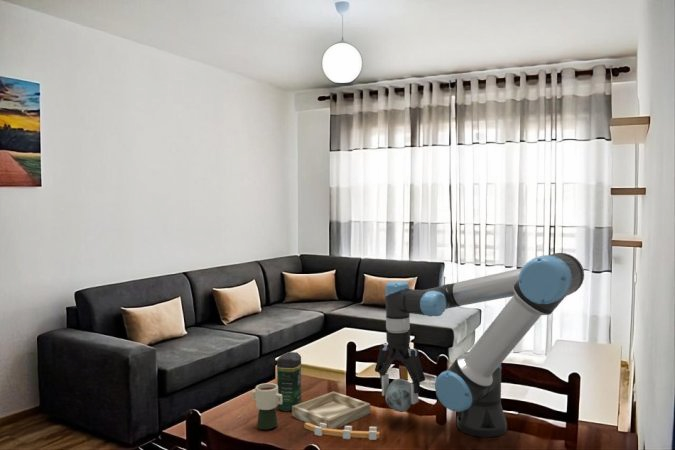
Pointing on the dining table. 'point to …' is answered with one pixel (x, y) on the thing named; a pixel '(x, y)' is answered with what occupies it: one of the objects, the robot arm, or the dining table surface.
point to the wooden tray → (331, 410)
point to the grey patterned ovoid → (399, 395)
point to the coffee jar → (289, 380)
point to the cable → (339, 432)
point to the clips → (346, 431)
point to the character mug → (267, 404)
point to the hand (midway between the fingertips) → (399, 398)
